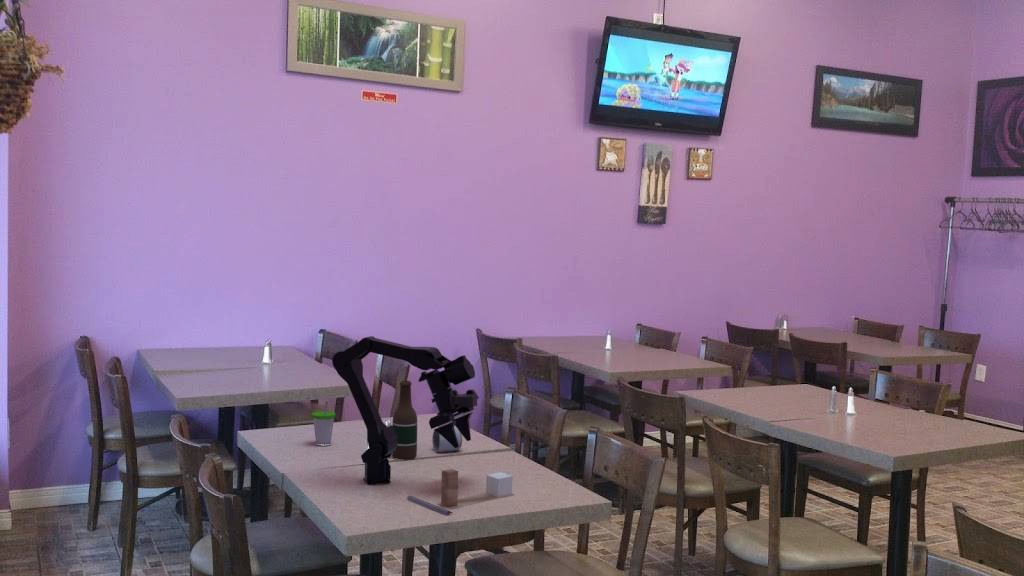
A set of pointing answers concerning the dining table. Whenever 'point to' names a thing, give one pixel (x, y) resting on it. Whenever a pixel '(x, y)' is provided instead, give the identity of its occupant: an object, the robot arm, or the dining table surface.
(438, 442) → the ceramic mug
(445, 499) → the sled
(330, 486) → the dining table surface
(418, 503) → the lane rails
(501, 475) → the light blue-gray cube
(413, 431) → the beer bottle
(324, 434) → the cup
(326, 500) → the dining table surface
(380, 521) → the dining table surface
